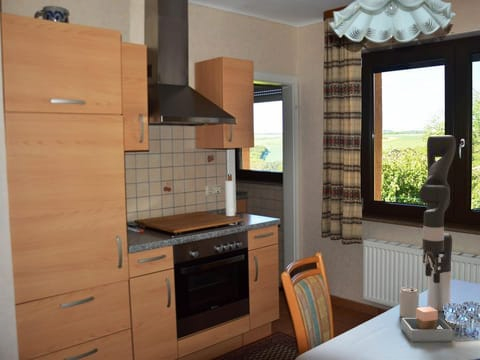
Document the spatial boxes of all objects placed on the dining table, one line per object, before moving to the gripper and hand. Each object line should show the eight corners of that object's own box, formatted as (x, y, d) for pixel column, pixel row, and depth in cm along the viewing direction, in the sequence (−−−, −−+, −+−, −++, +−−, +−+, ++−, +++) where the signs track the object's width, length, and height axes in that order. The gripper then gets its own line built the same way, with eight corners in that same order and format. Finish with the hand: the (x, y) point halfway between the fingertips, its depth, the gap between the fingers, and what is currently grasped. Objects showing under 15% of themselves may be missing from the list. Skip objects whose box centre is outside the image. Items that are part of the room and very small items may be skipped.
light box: (416, 317, 183) (416, 308, 183) (430, 315, 184) (430, 306, 184) (423, 321, 179) (423, 312, 178) (437, 319, 180) (437, 310, 180)
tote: (401, 329, 188) (401, 317, 188) (440, 329, 188) (440, 317, 187) (411, 342, 176) (411, 330, 176) (453, 342, 176) (453, 330, 176)
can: (419, 320, 197) (420, 292, 196) (400, 319, 198) (401, 291, 197) (416, 314, 204) (417, 286, 203) (398, 313, 205) (398, 285, 204)
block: (421, 336, 179) (421, 321, 179) (416, 330, 185) (417, 315, 184) (436, 336, 179) (437, 321, 179) (431, 330, 185) (431, 315, 184)
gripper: (450, 242, 175) (449, 285, 177) (436, 233, 189) (435, 273, 191) (429, 242, 175) (428, 285, 177) (416, 233, 189) (416, 273, 191)
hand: (432, 279), depth 184 cm, fingers open, 8 cm apart
